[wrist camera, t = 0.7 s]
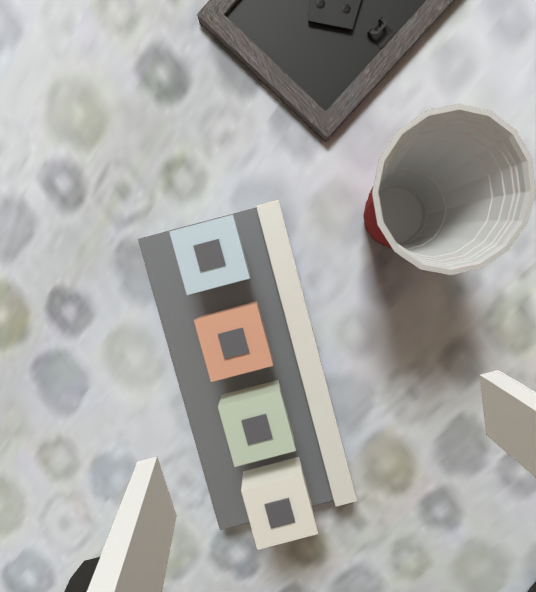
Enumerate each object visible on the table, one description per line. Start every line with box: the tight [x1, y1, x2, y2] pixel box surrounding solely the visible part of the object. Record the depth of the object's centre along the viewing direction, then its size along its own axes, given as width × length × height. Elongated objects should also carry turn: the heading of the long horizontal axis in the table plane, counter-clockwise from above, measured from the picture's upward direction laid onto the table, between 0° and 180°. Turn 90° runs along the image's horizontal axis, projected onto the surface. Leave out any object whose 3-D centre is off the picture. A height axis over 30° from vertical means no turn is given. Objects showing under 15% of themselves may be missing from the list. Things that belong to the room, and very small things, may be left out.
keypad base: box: [138, 200, 357, 530], centre depth 35 cm, size 28×13×3 cm, turn 15°
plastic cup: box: [364, 104, 536, 275], centre depth 30 cm, size 11×11×12 cm
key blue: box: [169, 215, 251, 295], centre depth 31 cm, size 5×5×3 cm
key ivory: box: [241, 457, 318, 550], centre depth 32 cm, size 5×5×3 cm
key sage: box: [218, 380, 296, 467], centre depth 31 cm, size 5×5×3 cm
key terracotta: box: [194, 301, 273, 382], centre depth 31 cm, size 5×5×3 cm
